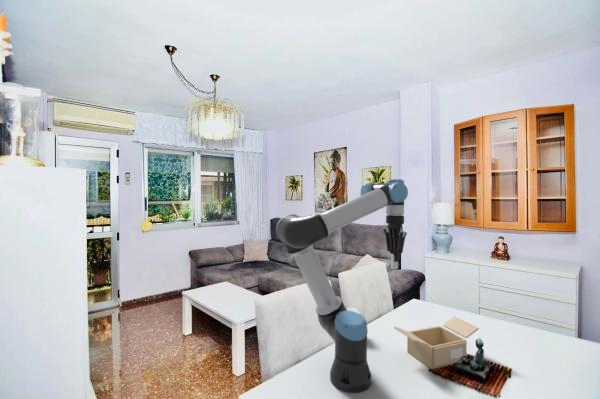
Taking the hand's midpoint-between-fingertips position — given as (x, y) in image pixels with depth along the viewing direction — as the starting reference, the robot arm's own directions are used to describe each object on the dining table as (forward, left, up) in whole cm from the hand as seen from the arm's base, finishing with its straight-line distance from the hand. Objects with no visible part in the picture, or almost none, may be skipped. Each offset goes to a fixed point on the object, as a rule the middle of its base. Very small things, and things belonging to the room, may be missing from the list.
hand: (394, 268), depth 131 cm
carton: (+14, -10, -36) cm, 40 cm away
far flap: (+24, -10, -27) cm, 37 cm away
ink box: (-9, +19, -37) cm, 42 cm away
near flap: (+4, -10, -27) cm, 29 cm away
